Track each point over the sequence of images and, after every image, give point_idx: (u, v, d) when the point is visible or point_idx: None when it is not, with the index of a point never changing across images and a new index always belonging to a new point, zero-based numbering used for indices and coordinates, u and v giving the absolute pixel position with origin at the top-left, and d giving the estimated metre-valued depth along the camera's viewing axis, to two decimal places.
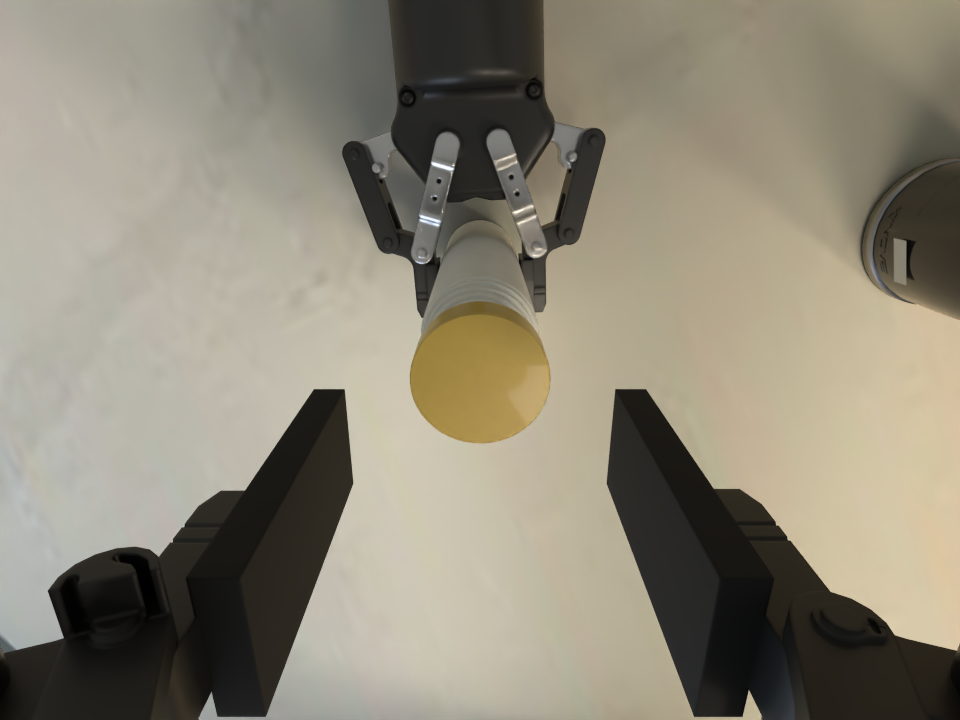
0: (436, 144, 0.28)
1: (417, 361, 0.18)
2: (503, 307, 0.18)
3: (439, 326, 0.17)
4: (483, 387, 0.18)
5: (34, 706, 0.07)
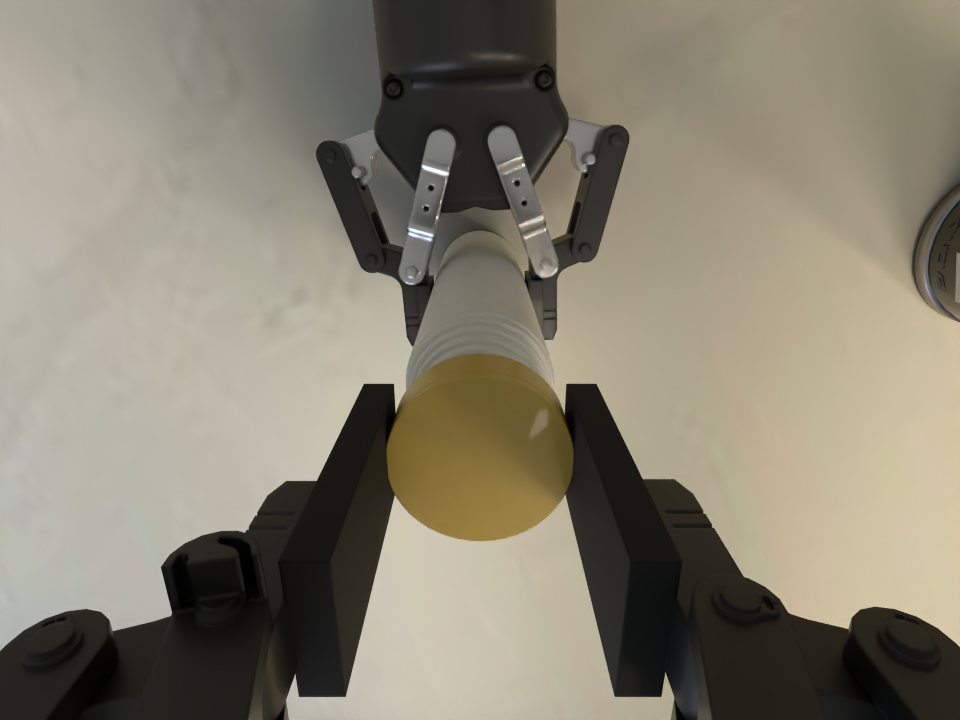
0: (427, 144, 0.23)
1: (395, 438, 0.13)
2: (511, 362, 0.14)
3: (424, 392, 0.13)
4: (484, 471, 0.13)
5: (147, 681, 0.07)
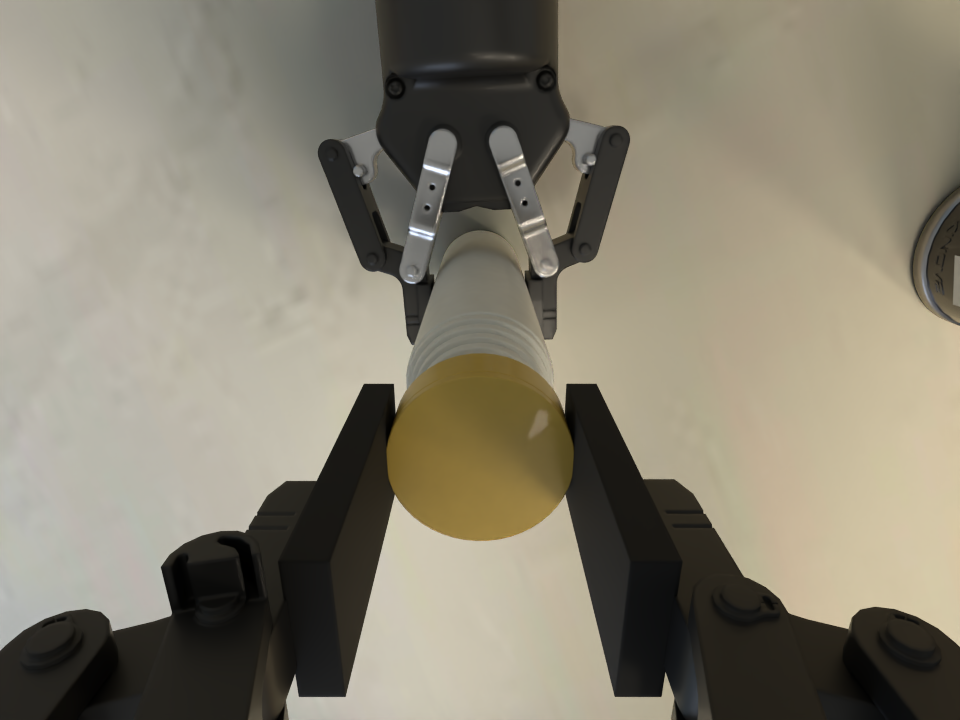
0: (429, 143, 0.24)
1: (467, 535, 0.14)
2: None
3: (416, 518, 0.14)
4: (487, 458, 0.13)
5: (147, 681, 0.07)
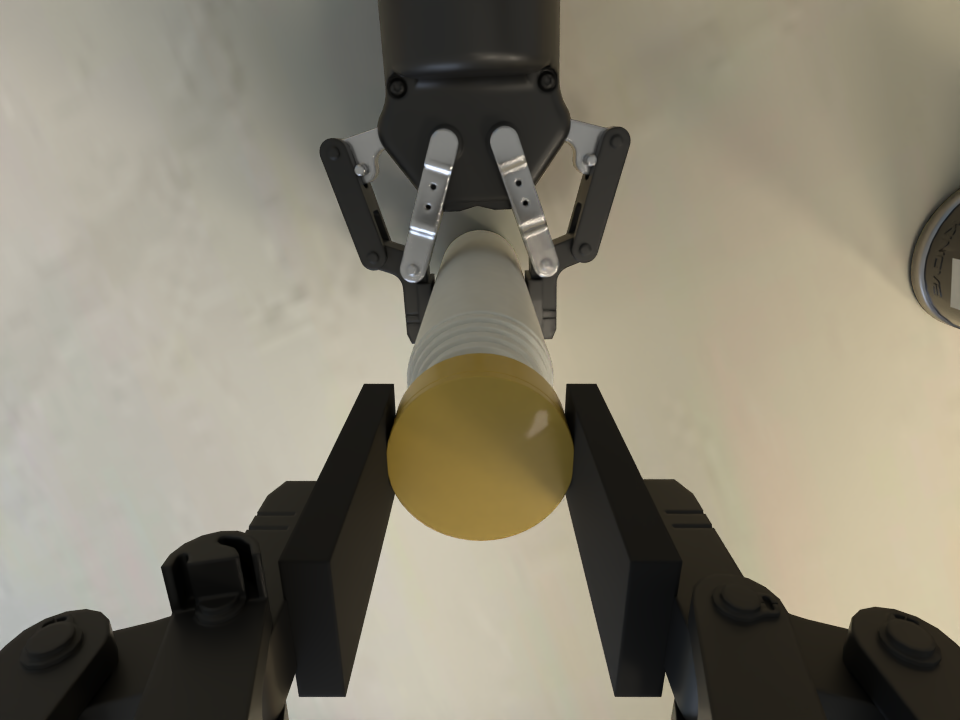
0: (430, 143, 0.24)
1: (568, 461, 0.13)
2: None
3: (554, 508, 0.14)
4: (473, 458, 0.13)
5: (147, 681, 0.07)
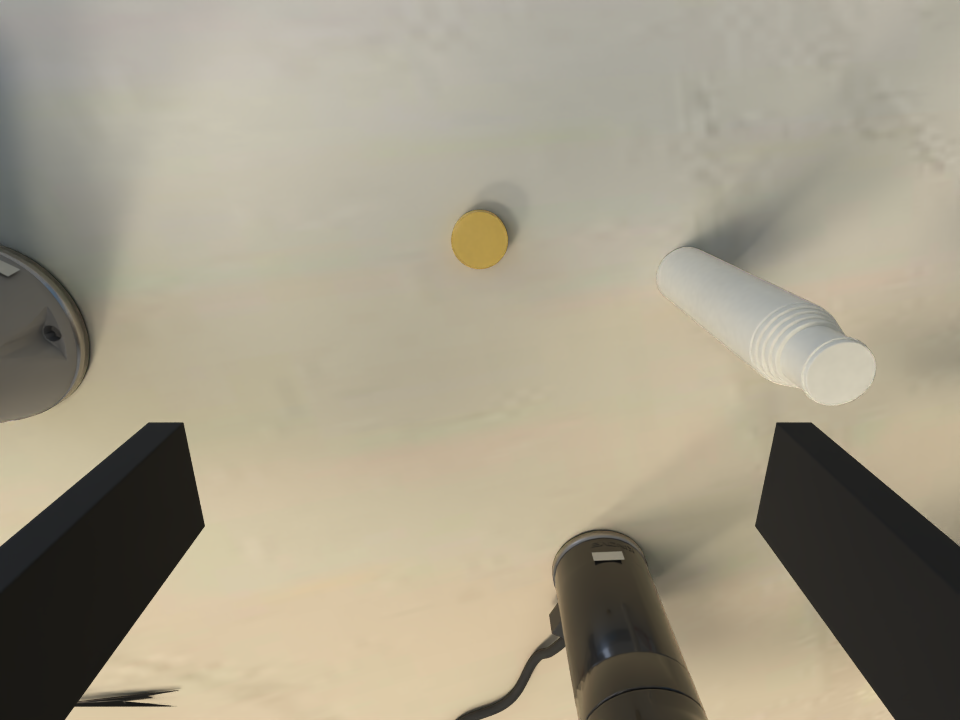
0: None
1: (473, 214, 0.43)
2: None
3: (491, 214, 0.43)
4: (478, 243, 0.44)
5: None
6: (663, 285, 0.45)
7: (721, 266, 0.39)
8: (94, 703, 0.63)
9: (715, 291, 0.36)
